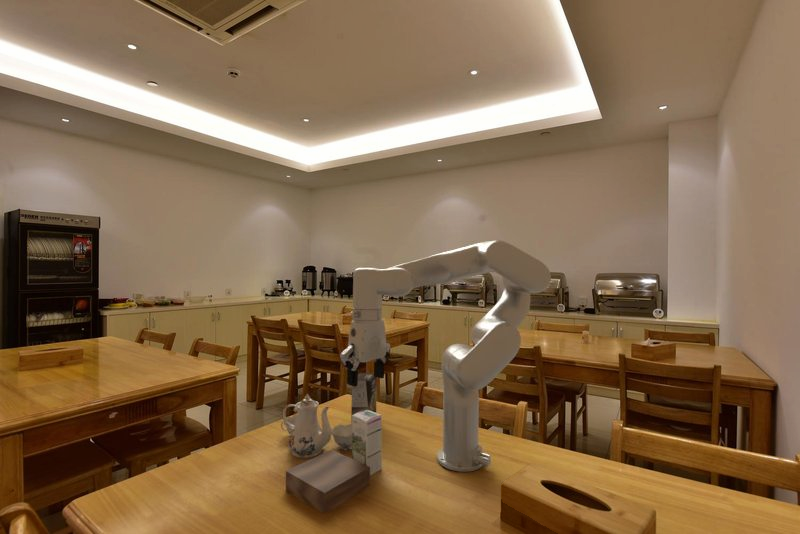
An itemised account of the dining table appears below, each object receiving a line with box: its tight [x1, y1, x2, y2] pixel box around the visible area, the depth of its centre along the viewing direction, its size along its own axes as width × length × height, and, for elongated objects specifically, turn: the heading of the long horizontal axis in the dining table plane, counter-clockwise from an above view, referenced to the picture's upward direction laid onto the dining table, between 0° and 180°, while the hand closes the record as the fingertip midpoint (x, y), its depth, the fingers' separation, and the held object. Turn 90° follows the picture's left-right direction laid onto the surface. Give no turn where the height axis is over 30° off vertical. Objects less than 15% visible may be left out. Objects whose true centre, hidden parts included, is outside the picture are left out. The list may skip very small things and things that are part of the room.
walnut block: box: [285, 449, 371, 515], centre depth 95 cm, size 14×14×5 cm
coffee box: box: [350, 372, 378, 424], centre depth 132 cm, size 9×6×16 cm
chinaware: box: [280, 393, 352, 459], centre depth 117 cm, size 28×17×17 cm, turn 71°
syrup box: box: [351, 410, 383, 476], centre depth 103 cm, size 6×6×14 cm
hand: (366, 381), depth 103 cm, fingers open, 9 cm apart
